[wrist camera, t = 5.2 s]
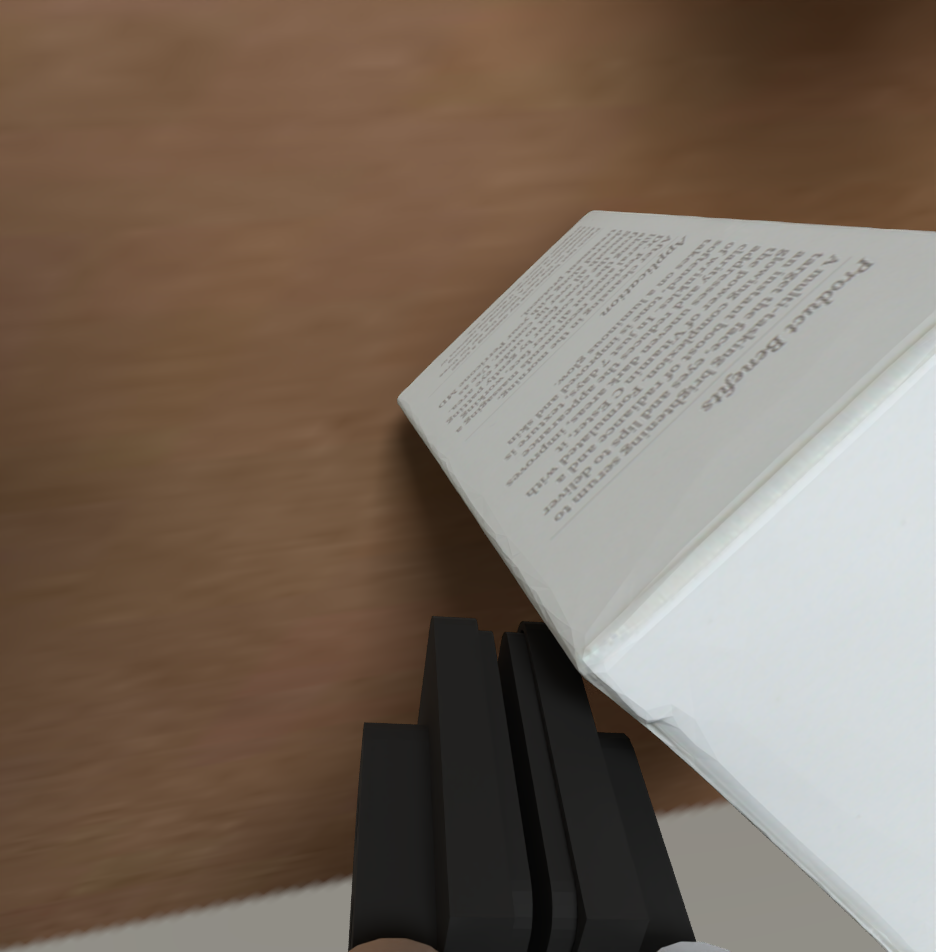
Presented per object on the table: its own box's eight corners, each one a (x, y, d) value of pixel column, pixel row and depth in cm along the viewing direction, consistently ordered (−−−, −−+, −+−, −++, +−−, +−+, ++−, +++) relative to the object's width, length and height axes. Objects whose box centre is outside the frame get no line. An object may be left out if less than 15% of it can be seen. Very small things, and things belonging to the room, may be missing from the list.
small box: (790, 464, 20) (1312, 732, 10) (616, 627, 20) (963, 1039, 10) (589, 197, 17) (1073, 216, 7) (384, 394, 17) (577, 679, 7)
